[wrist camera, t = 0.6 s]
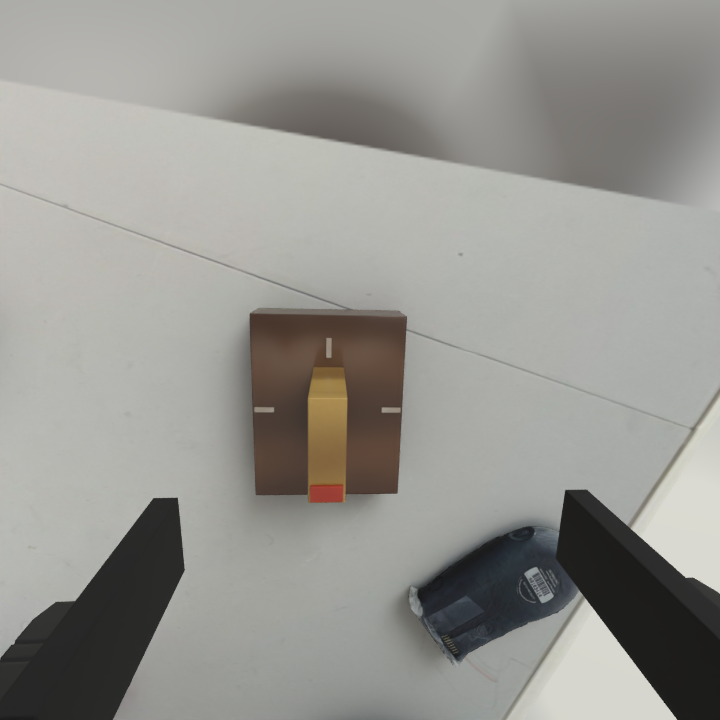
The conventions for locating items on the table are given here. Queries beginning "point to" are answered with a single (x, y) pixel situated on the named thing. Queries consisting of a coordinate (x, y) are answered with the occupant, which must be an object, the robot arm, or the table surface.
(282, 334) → the plate
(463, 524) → the table surface
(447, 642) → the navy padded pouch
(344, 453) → the thumb turn
